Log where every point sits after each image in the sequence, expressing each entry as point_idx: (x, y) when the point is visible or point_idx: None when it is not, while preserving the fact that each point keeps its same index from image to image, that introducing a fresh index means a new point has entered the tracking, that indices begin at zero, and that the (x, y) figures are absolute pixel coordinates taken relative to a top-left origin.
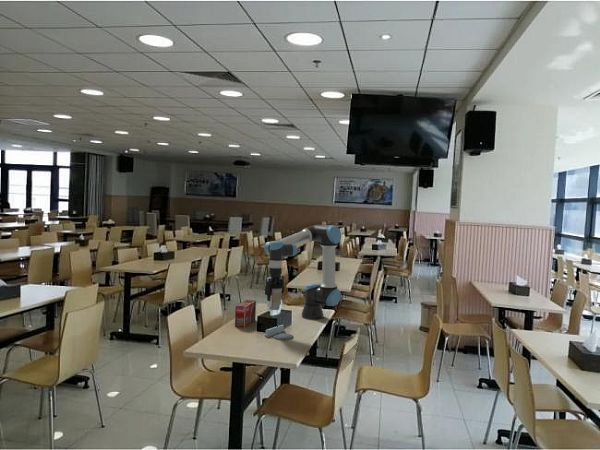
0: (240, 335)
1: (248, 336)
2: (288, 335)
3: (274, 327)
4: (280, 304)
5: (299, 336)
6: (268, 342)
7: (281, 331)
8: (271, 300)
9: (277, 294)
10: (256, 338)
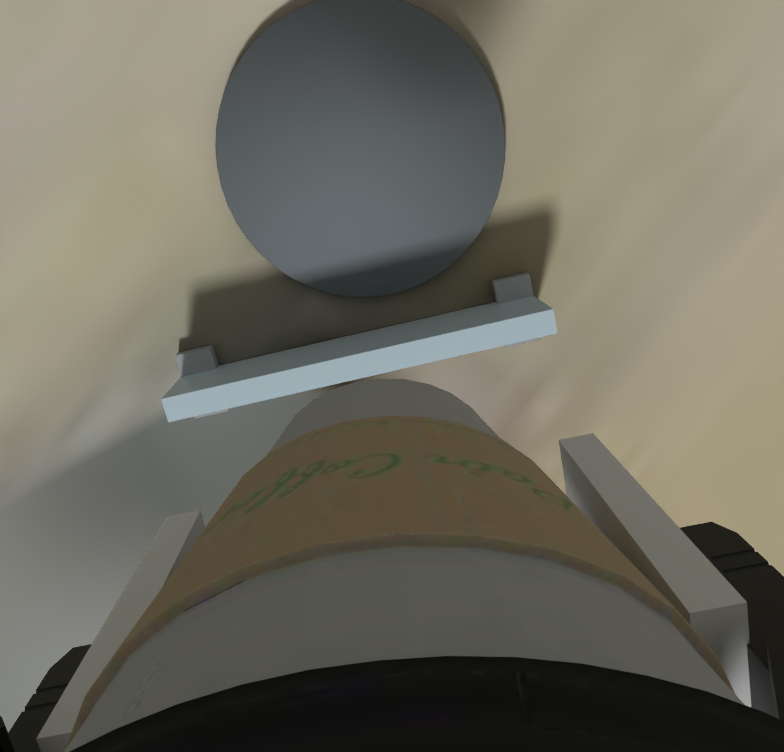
0: (729, 525)
1: (687, 443)
2: (274, 141)
3: (366, 368)
4: (190, 513)
5: (136, 48)
6: (673, 86)
7: (226, 366)
8: (640, 510)
9: (504, 514)
10: (670, 321)
